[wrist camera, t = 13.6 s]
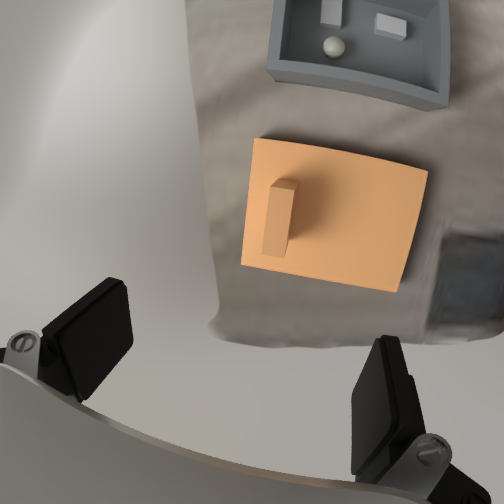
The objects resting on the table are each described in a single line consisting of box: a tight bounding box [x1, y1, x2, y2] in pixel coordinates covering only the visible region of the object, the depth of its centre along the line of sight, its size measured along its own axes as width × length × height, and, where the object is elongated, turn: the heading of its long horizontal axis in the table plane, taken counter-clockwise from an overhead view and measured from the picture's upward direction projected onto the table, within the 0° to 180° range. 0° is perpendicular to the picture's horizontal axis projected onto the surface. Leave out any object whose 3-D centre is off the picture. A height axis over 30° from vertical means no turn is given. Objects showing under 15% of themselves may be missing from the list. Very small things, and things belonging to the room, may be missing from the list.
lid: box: [241, 138, 428, 292], centre depth 28 cm, size 17×13×7 cm
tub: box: [266, 0, 451, 111], centre depth 21 cm, size 16×12×6 cm
